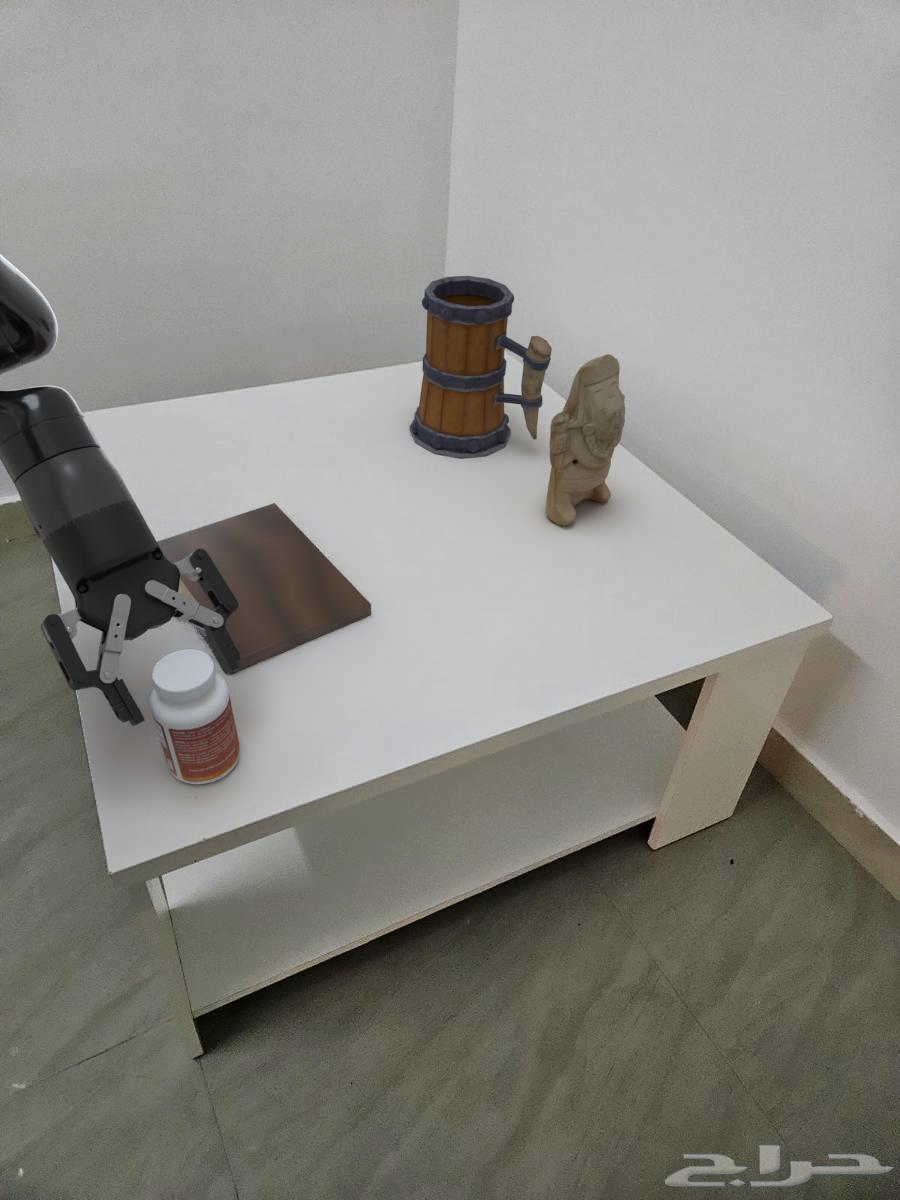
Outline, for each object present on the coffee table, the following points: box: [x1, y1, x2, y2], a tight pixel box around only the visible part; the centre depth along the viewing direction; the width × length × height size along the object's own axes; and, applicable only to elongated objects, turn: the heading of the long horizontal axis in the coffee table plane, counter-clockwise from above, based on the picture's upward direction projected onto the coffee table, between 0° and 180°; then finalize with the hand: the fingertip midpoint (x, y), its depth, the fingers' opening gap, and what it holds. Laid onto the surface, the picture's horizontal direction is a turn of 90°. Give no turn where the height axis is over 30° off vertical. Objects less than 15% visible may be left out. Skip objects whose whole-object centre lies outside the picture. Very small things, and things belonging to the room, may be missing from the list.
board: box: [157, 502, 372, 675], centre depth 88 cm, size 16×22×2 cm
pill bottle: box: [149, 648, 241, 785], centre depth 67 cm, size 6×6×11 cm
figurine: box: [545, 353, 626, 527], centre depth 96 cm, size 13×7×20 cm, turn 131°
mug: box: [408, 275, 553, 459], centre depth 109 cm, size 19×14×20 cm
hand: (187, 696), depth 66 cm, fingers open, 8 cm apart
